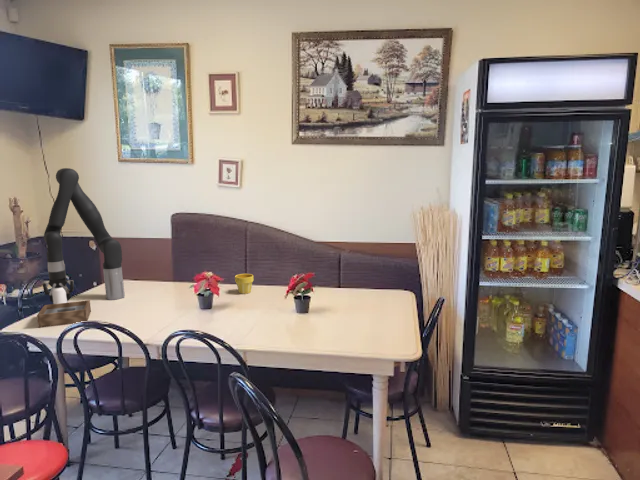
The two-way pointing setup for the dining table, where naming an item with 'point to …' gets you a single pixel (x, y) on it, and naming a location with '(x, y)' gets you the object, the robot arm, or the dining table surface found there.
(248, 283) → the plant pot
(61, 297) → the can
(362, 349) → the dining table surface
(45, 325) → the box
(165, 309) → the dining table surface
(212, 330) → the dining table surface
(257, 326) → the dining table surface
